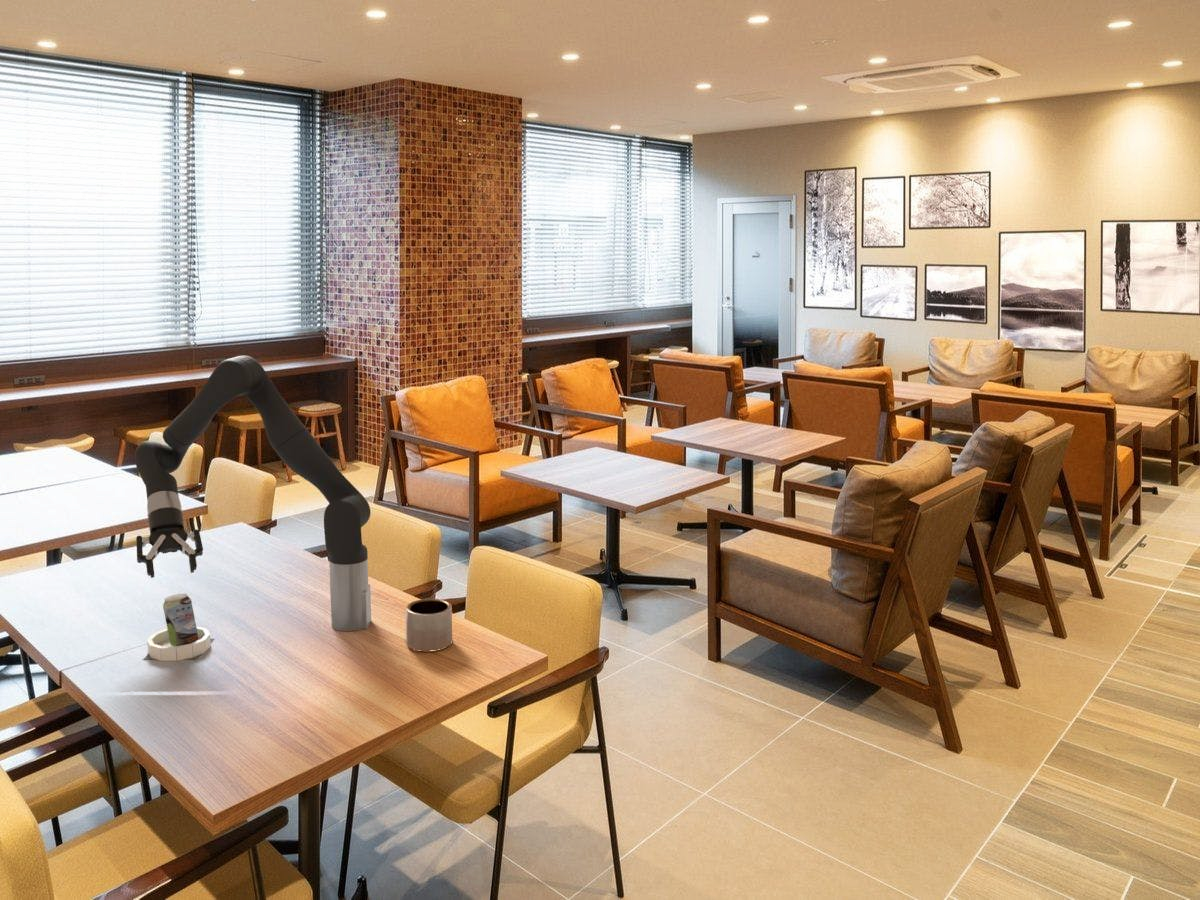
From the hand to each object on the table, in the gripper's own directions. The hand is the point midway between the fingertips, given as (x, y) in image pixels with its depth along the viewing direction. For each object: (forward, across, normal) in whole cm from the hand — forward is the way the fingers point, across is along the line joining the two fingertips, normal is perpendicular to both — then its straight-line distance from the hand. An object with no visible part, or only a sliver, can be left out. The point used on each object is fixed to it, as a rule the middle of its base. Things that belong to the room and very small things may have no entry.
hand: (172, 573), depth 223 cm
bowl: (+16, 0, +8) cm, 17 cm away
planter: (+31, +53, -6) cm, 62 cm away
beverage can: (+15, +1, +8) cm, 17 cm away
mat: (+16, 0, +8) cm, 18 cm away
